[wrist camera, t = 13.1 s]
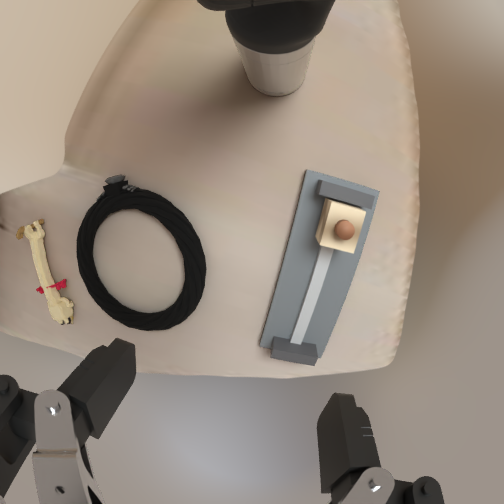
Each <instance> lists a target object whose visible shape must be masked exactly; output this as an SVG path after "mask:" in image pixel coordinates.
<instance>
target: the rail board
mask: <svg viewBox="0 0 504 504" xmlns="http://www.w3.org/2000/svg"><path fill="white" fill-rule="evenodd" d="M379 192H380V191H378V190H375V189H371V188H368V187H365V186H362V185H359V184H356V183H353V182H349V181H346V180H343V179H339V178H336V177H332V176H329V175H325V174H322V173H318V172H314V171H311V170H306V173H305V177H304V181H303V185H302V189H301V193H300V197H299V201H298V205H297V209H296V213H295V217H294V221H293V225H292V229H291V233H290V237H289V240H288V244H287V248H286V252H285V255H284V259H283V263H282V267H281V270H280V274H279V278H278V281H277V285H276V288H275V292H274V295H273V299H272V303H271V306H270V310H269V313H268V316H267V320H266V323H265V327H264V330H263V334H262V337H261V340H260V347H264V348H269V349H271V357H270V358H274V359H279V360H284V361H289V362H295V363H300V364H306V365H312V366H315V363H316V361H317V359H318V358H321V356H322V354H323V352H324V349H325V347H326V345H327V343H328V340H329V338H330V336H331V333H332V331H333V329H334V326H335V324H336V321H337V319H338V316H339V314H340V311H341V309H342V306H343V304H344V301H345V298H346V296H347V293H348V290H349V288H350V285H351V282H352V279H353V277H354V274H355V271H356V268H357V265H358V262H359V259H360V256H361V253H362V250H363V247H364V244H365V241H366V237H367V234H368V231H369V227H370V224H371V221H372V217H373V214H374V210H375V207H376V203H377V199H378V195H379ZM325 198H328V199H332V200H336V201H339V202H343V203H346V204H349V205H353V206H356V207H358V208H360V209H362V210H364V211H366V214H365V218H364V221H363V225H362V228H361V232H360V235H359V238H358V241H357V245H356V248H355V251H354V254H353V253H349V252H345V251H341V250H337V249H334V248H330V247H326V246H322V245H319V243H318V241H317V239H316V237H315V235H316V231H317V228H318V224H319V221H320V217H321V213H322V209H323V206H324V202H325Z"/></svg>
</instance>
